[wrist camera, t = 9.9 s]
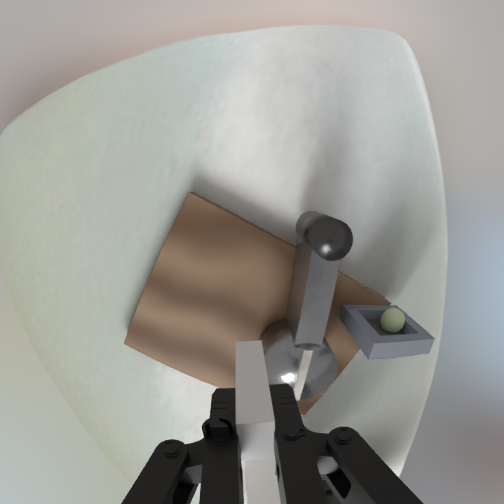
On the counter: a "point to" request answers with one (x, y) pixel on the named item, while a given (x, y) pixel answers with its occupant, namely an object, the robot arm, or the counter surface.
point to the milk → (262, 482)
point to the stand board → (226, 296)
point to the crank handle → (308, 309)
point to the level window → (385, 331)
